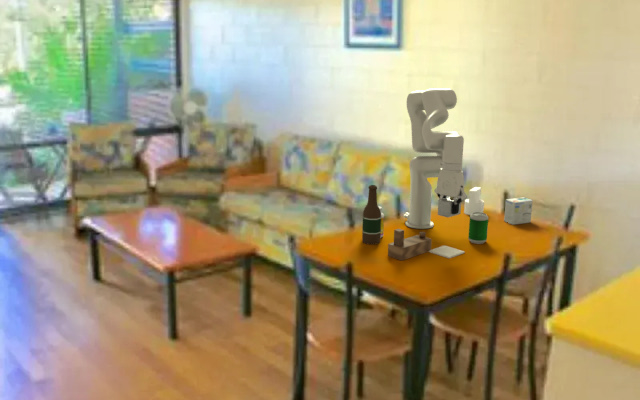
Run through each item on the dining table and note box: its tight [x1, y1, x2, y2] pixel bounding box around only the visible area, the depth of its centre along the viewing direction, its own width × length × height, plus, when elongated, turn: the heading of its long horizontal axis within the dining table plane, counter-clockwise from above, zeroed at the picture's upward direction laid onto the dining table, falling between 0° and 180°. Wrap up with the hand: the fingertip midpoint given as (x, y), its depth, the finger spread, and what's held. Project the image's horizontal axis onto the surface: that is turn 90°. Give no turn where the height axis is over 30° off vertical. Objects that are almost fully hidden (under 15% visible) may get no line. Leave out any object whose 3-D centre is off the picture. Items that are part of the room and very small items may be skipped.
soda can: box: [468, 212, 489, 245], centre depth 280 cm, size 8×8×12 cm
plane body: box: [387, 228, 433, 261], centre depth 265 cm, size 18×7×11 cm, turn 133°
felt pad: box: [428, 245, 466, 259], centre depth 268 cm, size 10×10×1 cm
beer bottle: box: [361, 184, 382, 245], centre depth 277 cm, size 8×8×24 cm
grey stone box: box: [437, 196, 462, 218], centre depth 263 cm, size 8×5×7 cm, turn 133°
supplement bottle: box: [378, 205, 385, 239], centre depth 286 cm, size 7×7×13 cm
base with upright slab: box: [463, 186, 485, 216], centre depth 323 cm, size 9×9×12 cm
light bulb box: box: [503, 196, 533, 225], centre depth 309 cm, size 11×7×11 cm, turn 114°
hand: (449, 211), depth 263 cm, fingers closed on grey stone box, 5 cm apart
